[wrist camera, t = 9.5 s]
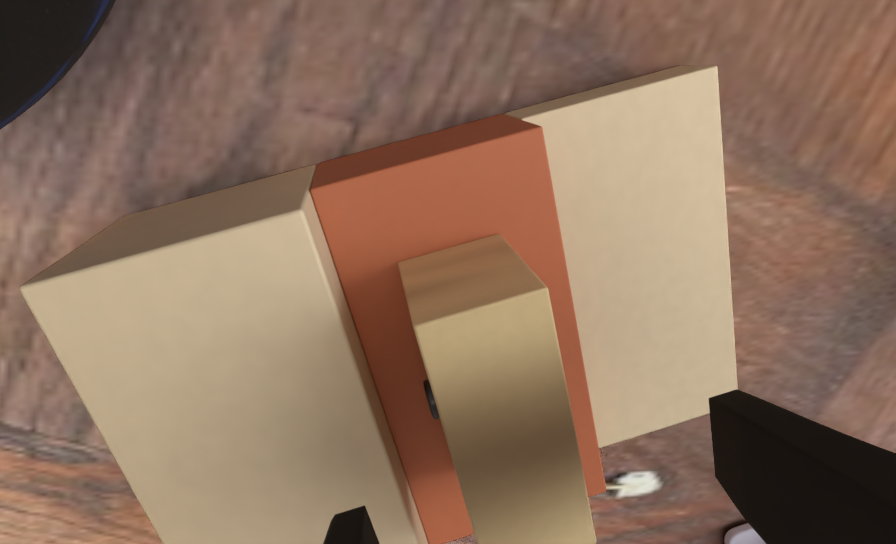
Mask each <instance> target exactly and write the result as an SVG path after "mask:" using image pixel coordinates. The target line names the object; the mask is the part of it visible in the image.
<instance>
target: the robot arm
mask: <svg viewBox="0 0 896 544" xmlns="http://www.w3.org/2000/svg"><path fill="white" fill-rule="evenodd" d="M709 409H710V420H711V431H712V442H713V453H714V465H715V476H716V478H717V479H718V481H719V482H720V484H721V485H722V487H723V488H724V490H725V491H726V493H727V494H728V496H729V497H730V499H731V500H732V502H733V503H734V504H735V506H736V507H737V509H738V510H739V511H740V513H741V514H742V515H743V517H744V518H745V520H746V521H747V522H748V523H746V524H743V525H740V526H737V527H734V528H732V529H730V530H729V531H728V532H727V533H726V535H725V539H724V540H725V544H896V453H893V452H890V451H888V450H885V449H882V448H879V447H877V446H874V445H871V444H869V443H866V442H864V441H861V440H858V439H856V438H853V437H851V436H848V435H846V434H843V433H841V432H838V431H836V430H833V429H831V428H828V427H826V426H824V425H821V424H819V423H816V422H814V421H812V420H809V419H807V418H804V417H802V416H800V415H797V414H795V413H793V412H790V411H788V410H786V409H783V408H781V407H779V406H776V405H774V404H772V403H769V402H767V401H764V400H762V399H760V398H757V397H755V396H752V395H750V394H747V393H745V392H742V391H740V390H737V389H736V390H733V391H730V392H726V393H723V394H720V395H717V396H714V397H710V398H709ZM323 544H380V543H379V541H378V538H377V536H376V533H375V530H374V528H373V525H372V522H371V520H370V517H369V515H368V512H367V509H366V507H365V505H364V506H361V507H358V508H355V509H351V510H348V511H345V512H342V513H338V514H335V515H334V517H333V518H332V520H331V522H330V525H329V528H328V531H327V534H326V537H325V540H324V543H323Z"/></svg>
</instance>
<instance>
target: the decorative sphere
mask: <svg viewBox="0 0 896 544" xmlns="http://www.w3.org/2000/svg"><path fill="white" fill-rule="evenodd" d="M115 1H116V0H0V129H2V128H3V127H4V126H6V125H7V124H9V123H10V122H12V121H13V120H14V119H16V118H17V117H18V116H20V115H21V114H22V113H23V112H25V111H26V110H27V109H29V108H30V107H31V106H32V105H34V104H35V103H36V102H37V101H39V100H40V99H41V98H42V97H43V96H44V95H45V94H46V93H47V92H48V91H49V90H50V89H51V88H53V87H54V86H55V85H56V84H57V83H58V82H59V81H60V80H61V79H62V78H63V77H64V75H65V74H66V73H67V72H68V71H69V70H70V69H71V67H72V66H73V65H74V64H75V63H76V61H77V60H78V59H79V58H80V56H81V55H82V54H83V53H84V51H85V50H86V48H87V47H88V46H89V44H90V43H91V42H92V40H93V39H94V37H95V36H96V34H97V33H98V31H99V29H100V28H101V26H102V24H103V23H104V21H105V19H106V18H107V16H108V14H109V13H110V11H111V9H112V7H113V5H114V3H115Z"/></svg>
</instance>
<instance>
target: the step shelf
mask: <svg viewBox="0 0 896 544" xmlns="http://www.w3.org/2000/svg"><path fill="white" fill-rule="evenodd" d="M496 234H500V235H501V236H502V237H503V238H504V239H505V241H506V242H507V243H508V244H509V245H510V246H511V247H512V248H513V250H514V251H515V252H516V253H517V254H518V255H519V256H520V257H521V258H522V260H523V261H524V262H525V263H526V264H527V265H528V266H529V267H530V269H531V270H532V271H533V272H534V273H535V274H536V275H537V276H538V278H539V279H540V280H541V281H542V282H543V283H544V284H545V285H546V287H547V288H548V291H549V296H550V301H551V306H552V311H553V317H554V322H555V327H556V332H557V337H558V343H559V348H560V353H561V358H562V363H563V369H564V374H565V379H566V384H567V389H568V395H569V400H570V405H571V410H572V415H573V421H574V426H575V431H576V436H577V441H578V447H579V452H580V457H581V462H582V467H583V473H584V478H585V483H586V488H587V494H588V497H591V496H594V495H597V494H600V493H603V492H606V486H605V480H604V474H603V469H602V463H601V457H600V452H599V448H601V447H604V446H608V445H611V444H614V443H617V442H620V441H623V440H627V439H630V438H633V437H636V436H639V435H643V434H646V433H649V432H652V431H655V430H658V429H662V428H665V427H668V426H671V425H674V424H678V423H681V422H684V421H687V420H690V419H693V418H697V417H700V416H703V415H706V414H709V413H710V409H709V398H710V397H714V396H717V395H720V394H723V393H726V392H730V391H733V390H736V389H737V390H738V388H737V372H736V356H735V340H734V324H733V308H732V292H731V276H730V260H729V244H728V228H727V212H726V197H725V181H724V165H723V149H722V133H721V117H720V101H719V85H718V69H717V66H695V65H680V66H677V67H673V68H669V69H665V70H662V71H658V72H654V73H651V74H647V75H643V76H640V77H636V78H632V79H629V80H625V81H621V82H617V83H614V84H610V85H606V86H603V87H599V88H595V89H592V90H588V91H584V92H580V93H577V94H573V95H569V96H566V97H562V98H558V99H555V100H551V101H547V102H543V103H540V104H536V105H532V106H529V107H525V108H521V109H518V110H514V111H510V112H506V113H505V114H499V115H495V116H492V117H488V118H484V119H481V120H477V121H473V122H469V123H466V124H462V125H458V126H455V127H451V128H447V129H444V130H440V131H436V132H432V133H429V134H425V135H421V136H418V137H414V138H410V139H407V140H403V141H399V142H396V143H392V144H388V145H384V146H381V147H377V148H373V149H370V150H366V151H362V152H359V153H355V154H351V155H347V156H344V157H340V158H336V159H333V160H329V161H325V162H322V163H319V164H318V165H311V166H307V167H304V168H300V169H296V170H292V171H289V172H285V173H281V174H278V175H274V176H270V177H267V178H263V179H259V180H256V181H252V182H248V183H244V184H241V185H237V186H233V187H230V188H226V189H222V190H219V191H215V192H211V193H207V194H204V195H200V196H196V197H193V198H189V199H185V200H182V201H178V202H174V203H170V204H167V205H163V206H159V207H156V208H152V209H148V210H145V211H141V212H137V213H133V214H130V215H126V216H124V217H122V218H121V219H119V220H118V221H116V222H115V223H113V224H112V225H110V226H109V227H107V228H106V229H104V230H103V231H101V232H100V233H98V234H97V235H95V236H94V237H93V238H91V239H90V240H88V241H87V242H85V243H84V244H82V245H81V246H79V247H78V248H76V249H75V250H73V251H72V252H70V253H69V254H67V255H66V256H64V257H63V258H61V259H60V260H58V261H57V262H56V263H54V264H53V265H51V266H50V267H48V268H47V269H45V270H44V271H42V272H41V273H39V274H38V275H36V276H35V277H33V278H32V279H30V280H29V281H27V282H26V283H24V284H23V285H22V286H20V292H21V294H22V296H23V297H24V299H25V301H26V303H27V304H28V306H29V308H30V310H31V312H32V313H33V315H34V317H35V319H36V320H37V322H38V324H39V326H40V327H41V329H42V331H43V333H44V334H45V336H46V338H47V340H48V342H49V343H50V345H51V347H52V349H53V350H54V352H55V354H56V356H57V357H58V359H59V361H60V363H61V365H62V366H63V368H64V370H65V372H66V373H67V375H68V377H69V379H70V380H71V382H72V384H73V386H74V387H75V389H76V391H77V393H78V395H79V396H80V398H81V400H82V402H83V403H84V405H85V407H86V409H87V410H88V412H89V414H90V416H91V418H92V419H93V421H94V423H95V425H96V426H97V428H98V430H99V432H100V433H101V435H102V437H103V439H104V440H105V442H106V444H107V446H108V448H109V449H110V451H111V453H112V455H113V456H114V458H115V460H116V462H117V463H118V465H119V467H120V469H121V470H122V472H123V474H124V476H125V478H126V479H127V481H128V483H129V485H130V486H131V488H132V490H133V492H134V493H135V495H136V497H137V499H138V501H139V502H140V504H141V506H142V508H143V509H144V511H145V513H146V515H147V516H148V518H149V520H150V522H151V523H152V525H153V527H154V529H155V531H156V532H157V534H158V536H159V538H160V539H161V541H162V543H163V544H323V543H324V540H325V537H326V534H327V531H328V528H329V525H330V522H331V520H332V518H333V517H334V515H335V514H338V513H342V512H345V511H348V510H351V509H355V508H358V507H361V506H364V505H365V507H366V509H367V512H368V515H369V517H370V520H371V522H372V525H373V528H374V530H375V533H376V536H377V538H378V541H379V543H380V544H444V543H447V542H450V541H453V540H456V539H460V538H463V537H466V536H469V535H472V534H474V532H473V528H472V525H471V521H470V518H469V515H468V511H467V508H466V504H465V501H464V498H463V494H462V491H461V488H460V484H459V481H458V477H457V474H456V471H455V467H454V464H453V460H452V457H451V454H450V450H449V447H448V444H447V440H446V437H445V433H444V430H443V427H442V423H441V420H440V419H434V418H433V417H432V414H431V411H430V408H429V404H428V401H427V397H426V394H425V390H424V386H423V382H424V381H425V380H426V379H428V376H427V373H426V369H425V366H424V362H423V359H422V356H421V352H420V349H419V345H418V342H417V339H416V335H415V332H414V329H413V325H412V320H411V316H410V312H409V308H408V304H407V300H406V296H405V292H404V288H403V284H402V280H401V276H400V272H399V268H398V263H399V262H401V261H405V260H408V259H412V258H415V257H419V256H422V255H426V254H429V253H433V252H436V251H440V250H443V249H447V248H450V247H454V246H457V245H461V244H464V243H468V242H471V241H475V240H478V239H482V238H485V237H489V236H492V235H496Z"/></svg>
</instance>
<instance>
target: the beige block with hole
mask: <svg viewBox="0 0 896 544" xmlns="http://www.w3.org/2000/svg"><path fill="white" fill-rule="evenodd" d="M398 268H399V272H400V276H401V280H402V284H403V288H404V292H405V296H406V300H407V304H408V308H409V312H410V316H411V320H412V325H413V329H414V332H415V335H416V339H417V342H418V345H419V349H420V352H421V356H422V359H423V362H424V366H425V369H426V373H427V376H428V379H426V380H425V381H424V382H423V386H424V390H425V394H426V397H427V401H428V404H429V408H430V411H431V414H432V417H433V418H434V419H440V420H441V423H442V427H443V430H444V433H445V437H446V440H447V444H448V447H449V450H450V454H451V457H452V460H453V464H454V467H455V471H456V474H457V477H458V481H459V484H460V488H461V491H462V494H463V498H464V501H465V504H466V508H467V511H468V515H469V518H470V521H471V525H472V528H473V532H474V535H475V538H476V542H477V544H595V543H596V535H595V530H594V525H593V520H592V514H591V509H590V504H589V499H588V494H587V488H586V483H585V478H584V473H583V467H582V462H581V457H580V452H579V447H578V441H577V436H576V431H575V426H574V421H573V415H572V410H571V405H570V400H569V395H568V389H567V384H566V379H565V374H564V369H563V363H562V358H561V353H560V348H559V343H558V337H557V332H556V327H555V322H554V317H553V311H552V306H551V301H550V296H549V291H548V288H547V287H546V285H545V284H544V283H543V282H542V281H541V280H540V279H539V278H538V276H537V275H536V274H535V273H534V272H533V271H532V270H531V269H530V267H529V266H528V265H527V264H526V263H525V262H524V261H523V260H522V258H521V257H520V256H519V255H518V254H517V253H516V252H515V251H514V250H513V248H512V247H511V246H510V245H509V244H508V243H507V242H506V241H505V239H504V238H503V237H502V236H501V235H500V234H496V235H492V236H489V237H485V238H482V239H478V240H475V241H471V242H468V243H464V244H461V245H457V246H454V247H450V248H447V249H443V250H440V251H436V252H433V253H429V254H426V255H422V256H419V257H415V258H412V259H408V260H405V261H401V262H399V263H398Z"/></svg>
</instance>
